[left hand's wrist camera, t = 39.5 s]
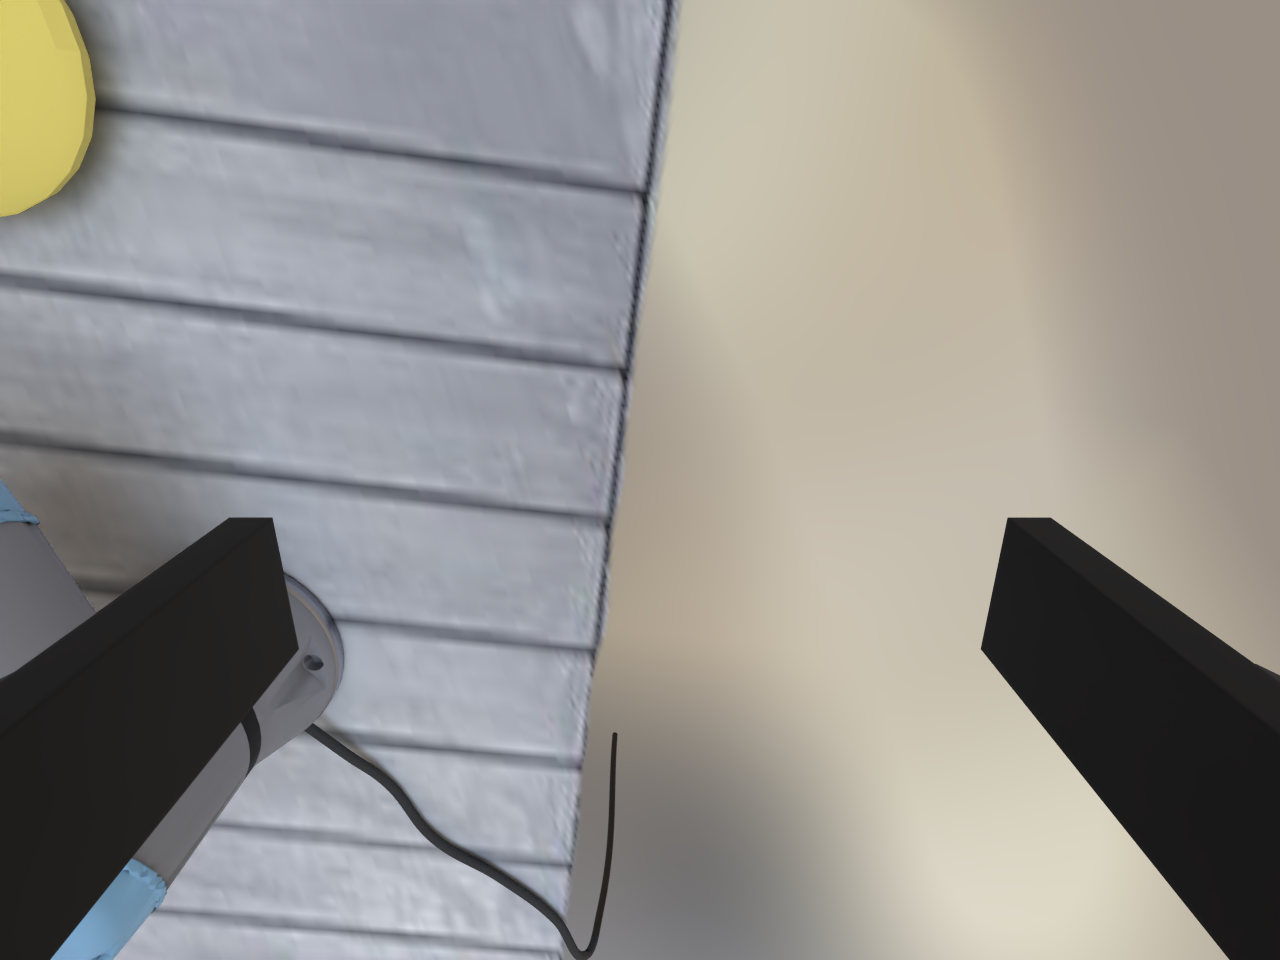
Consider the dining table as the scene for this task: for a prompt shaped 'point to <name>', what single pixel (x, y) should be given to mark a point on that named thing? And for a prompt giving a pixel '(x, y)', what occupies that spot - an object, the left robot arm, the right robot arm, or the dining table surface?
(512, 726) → the dining table surface
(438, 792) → the dining table surface
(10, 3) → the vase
